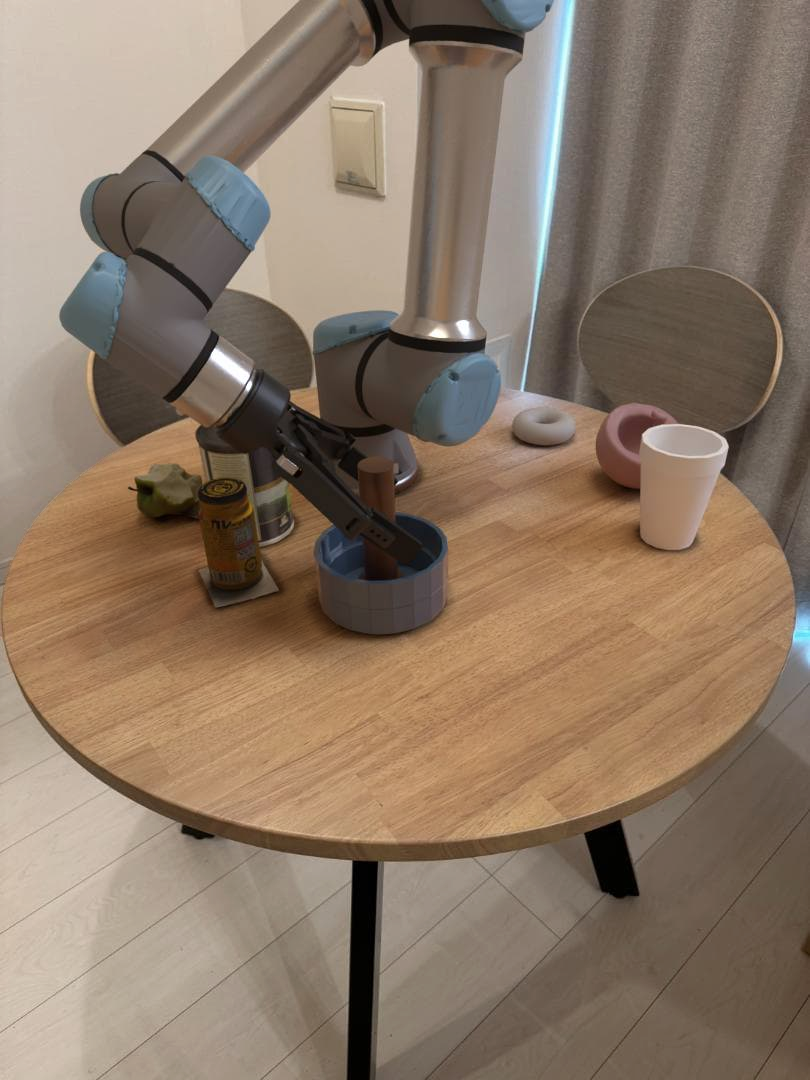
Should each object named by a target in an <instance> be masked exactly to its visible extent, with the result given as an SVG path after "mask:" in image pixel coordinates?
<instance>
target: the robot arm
mask: <svg viewBox="0 0 810 1080" xmlns="http://www.w3.org/2000/svg"><path fill="white" fill-rule="evenodd" d="M554 1H555V0H298V1H297V2H296V3H295V4H294V5H293V6H292V7H291V8H290V9H289V10H288V11H287V12H286V13H285V14H283V16H282V17H281V18H280V19H279V20H277V22H276V23H275V24H273V25H272V27H270V28H269V29H268V30H267V31H266V33H264V34H263V35H262V36H261V37H260V38H259V39H258V40H257V41H256V42H255V43H254V44H253V45H252V46H251V47H250V48H249V49H248V50H247V51H246V52H245V53H244V54H242V56H241V57H240V58H239V59H238V60H237V61H236V62H235V63H233V64H232V66H230V67H229V68H228V69H227V70H226V71H225V72H224V73H223V74H222V75H221V76H220V77H219V78H218V79H217V80H216V81H215V82H214V83H213V84H212V85H211V86H210V87H209V88H208V89H207V90H206V91H205V92H204V93H203V94H201V96H199V98H197V100H196V101H194V102H193V104H192V105H191V106H189V107H188V108H187V109H186V110H185V111H184V112H183V113H182V114H181V115H180V116H179V117H178V118H177V119H176V120H175V121H174V122H173V123H172V124H171V125H170V126H169V127H168V128H167V129H166V130H165V131H164V132H163V133H162V134H161V135H160V136H159V137H158V138H156V139H155V140H154V142H152V143H151V145H150V146H148V147H147V148H146V149H145V150H144V151H143V152H141V154H139V155H138V156H137V157H136V158H135V159H134V160H133V161H132V162H131V163H129V165H127V167H126V168H124V169H123V171H121V172H120V173H119V172H114V173H108V174H107V175H102V176H99V177H97V178H95V179H94V180H92V181H91V182H90V183H89V184H88V185H87V186H86V187H85V188H84V190H83V193H82V196H81V199H80V204H79V215H80V220H81V223H82V227H83V229H84V230H85V233H86V234H87V235H88V237H89V239H90V241H92V242H93V244H94V245H96V246H97V247H99V248H100V249H102V250H103V251H102V252H100V253H99V254H98V255H97V256H96V258H95V259H94V261H93V262H92V263H91V265H90V266H89V268H87V270H86V271H85V273H84V275H83V276H82V277H81V278H80V280H79V281H78V283H77V284H76V286H75V287H74V289H73V290H72V291H71V293H70V294H69V295H68V297H67V298H66V300H65V301H64V303H63V304H62V306H61V308H60V310H59V318H58V319H59V321H60V324H61V327H62V328H63V329H64V330H65V332H67V333H68V334H69V335H71V336H72V337H73V338H74V339H76V340H77V341H78V342H80V343H82V344H83V345H84V346H85V347H87V348H88V349H89V350H91V351H92V352H93V353H95V354H96V355H98V356H99V358H100V359H102V360H103V361H106V362H107V363H108V364H110V365H111V366H113V367H114V368H116V369H117V370H119V371H120V372H122V373H123V374H125V375H126V376H127V377H129V378H131V379H132V380H134V381H135V382H137V383H138V384H140V385H141V386H142V387H144V388H146V389H147V390H149V391H150V392H152V393H153V394H155V395H156V396H158V397H159V398H161V399H162V400H164V401H165V402H167V403H169V404H170V405H171V406H173V407H174V408H175V412H176V415H177V416H178V417H185V416H188V417H189V418H190V419H191V420H193V421H195V422H196V423H197V424H199V425H202V426H204V427H205V428H208V427H212V426H213V430H214V434H215V435H216V436H217V437H218V438H220V439H221V440H223V441H224V442H226V443H227V444H229V445H230V446H232V447H233V448H235V449H236V450H237V451H239V452H240V453H243V454H248V453H251V452H253V451H255V449H257V448H260V447H265V448H267V450H268V451H269V452H271V453H272V456H273V458H274V459H275V461H274V463H273V464H272V465H271V469H272V470H273V471H274V472H275V473H276V474H278V475H279V476H280V477H282V478H283V479H284V480H286V481H287V482H288V484H290V485H291V486H292V487H293V488H294V489H295V490H296V491H297V492H298V493H299V494H300V495H302V496H303V498H304V499H306V500H307V501H308V502H309V503H310V505H312V506H313V507H314V508H315V509H316V510H317V511H319V512H320V514H322V515H323V516H324V517H325V518H326V519H327V520H328V521H329V522H330V523H331V524H332V525H333V524H334V525H335V526H336V527H337V528H338V529H339V530H340V531H341V532H342V533H343V534H344V536H345V537H346V538H347V539H349V540H352V541H353V540H354V539H355V538H356V537H357V536H358V535H359V534H360V535H361V536H363V537H364V538H366V539H367V540H369V541H370V542H371V543H373V544H374V545H376V546H377V547H379V548H380V549H382V550H383V551H385V552H386V553H387V554H389V555H390V556H392V557H393V558H395V559H396V560H398V561H399V562H401V563H402V564H404V565H406V564H407V563H408V562H409V561H410V560H411V559H412V558H413V557H414V556H415V555H416V554H417V553H418V552H419V551H420V550H421V549H422V548H423V547H424V546H423V544H422V542H421V541H419V540H418V539H417V538H415V537H414V536H412V535H411V534H410V533H408V532H407V531H405V530H404V529H403V528H401V527H400V526H398V525H397V524H396V523H394V522H393V521H391V520H390V519H389V518H387V517H386V516H385V515H383V514H382V513H380V512H379V511H378V510H376V509H375V508H372V509H371V510H370V509H369V508H368V507H367V506H366V505H365V504H364V503H363V502H362V501H361V500H360V496H359V482H358V467H357V465H358V463H359V462H360V461H361V460H363V459H365V458H369V457H385V458H388V459H390V460H391V461H392V462H393V464H394V490H395V494H398V493H401V492H402V491H404V490H407V488H409V487H411V485H412V484H414V483H415V481H416V480H417V478H418V473H419V471H418V459H417V456H416V453H415V451H414V447H413V445H412V443H411V440H410V437H409V435H410V436H412V437H415V438H416V439H418V440H419V441H421V442H424V443H432V444H435V445H437V446H441V447H447V448H448V447H456V446H460V445H462V444H465V443H466V442H468V441H470V440H472V438H474V437H475V436H476V435H477V434H478V433H479V432H480V431H481V429H482V428H483V427H484V426H485V425H486V424H487V423H488V421H489V420H490V418H491V417H492V414H494V413H493V412H495V408H496V406H497V404H498V401H499V398H500V393H501V388H502V375H501V371H500V370H499V369H498V364H497V362H496V361H495V360H494V359H493V358H491V357H490V356H489V354H485V351H486V344H487V337H488V332H487V330H486V328H485V327H484V326H483V325H482V324H481V323H480V321H479V320H478V317H477V311H478V304H479V297H480V296H479V295H480V287H481V280H482V272H483V263H484V253H485V246H486V239H487V238H486V237H487V229H488V219H489V212H490V211H489V210H490V205H491V195H492V186H493V178H494V170H495V163H496V154H497V145H498V139H499V138H498V137H499V131H500V130H499V129H500V123H501V122H500V121H501V112H502V105H503V104H502V103H503V96H504V89H505V80H506V78H507V77H508V74H509V73H510V72H512V71H513V70H514V69H515V68H516V67H517V66H518V65H519V64H520V63H521V62H522V60H523V57H524V56H523V55H524V47H525V40H526V34H527V33H529V32H532V31H533V30H534V29H535V28H537V27H538V26H540V25H541V24H542V23H543V22H544V20H545V19H546V18H547V16H546V15H547V13H549V12H550V11H551V8H552V6H553V3H554ZM407 40H408V52H409V53H410V55H411V56H412V58H413V59H414V60H415V62H416V64H417V65H418V67H419V69H420V71H421V77H420V89H419V101H418V102H419V103H418V113H417V127H416V141H415V152H414V153H415V155H414V167H413V179H412V182H413V183H412V190H411V191H412V192H411V193H412V194H411V206H410V218H409V232H408V234H409V235H408V242H407V243H408V245H407V257H406V259H407V260H406V267H405V269H406V270H405V282H404V294H403V295H404V296H403V309H402V310H401V312H400V313H397V312H395V311H392V310H382V309H381V310H378V309H377V310H362V311H356V312H355V311H354V312H349V313H343V314H338V315H334V316H332V317H328V318H326V319H324V320H321V321H320V322H319V323H317V325H316V326H315V327H314V329H313V332H312V356H313V362H314V371H315V380H316V381H315V382H316V390H317V400H318V409H319V417H318V416H316V415H315V414H313V413H311V412H310V411H308V410H306V409H304V408H302V407H300V406H298V405H297V404H295V403H294V402H292V401H291V391H290V389H289V387H287V385H285V384H284V383H282V382H281V381H280V380H278V379H277V378H276V377H274V376H273V375H272V374H270V373H269V372H268V371H267V370H265V369H264V368H255V362H254V360H253V359H252V358H250V357H249V356H248V355H247V354H245V353H244V352H242V351H241V350H240V349H238V348H237V347H236V346H234V344H231V343H230V342H229V341H228V340H227V339H225V338H224V337H222V336H221V335H220V334H219V333H217V332H216V331H214V330H213V329H212V328H211V327H209V326H208V325H207V324H206V323H205V322H204V319H205V317H206V316H207V315H208V313H210V311H211V309H212V308H213V306H214V304H215V303H216V301H217V300H218V298H219V297H220V295H222V293H223V292H224V290H225V289H226V287H227V286H228V285H229V283H230V282H231V281H232V279H233V278H234V276H236V274H237V273H238V271H239V270H240V269H241V267H242V265H243V264H244V263H245V261H246V260H247V259H248V257H249V256H250V254H251V253H252V252H254V251H255V250H256V244H257V243H258V241H259V239H260V238H261V236H262V234H263V232H264V231H265V229H266V227H267V226H268V224H269V222H270V220H271V213H272V212H271V207H270V204H269V202H268V200H267V197H266V196H265V195H264V193H263V191H262V190H261V189H260V188H259V187H258V185H257V184H256V183H255V182H254V181H253V180H252V179H251V178H250V177H249V176H248V175H247V174H246V172H247V170H249V168H250V167H251V166H253V164H255V162H257V160H258V159H259V158H260V157H261V156H263V154H264V153H266V151H267V150H268V149H269V148H270V147H271V146H272V145H273V144H274V143H275V142H276V141H278V139H280V137H281V136H282V135H283V134H284V133H285V132H286V131H287V130H288V129H289V128H290V127H291V126H292V125H293V124H294V123H295V122H296V121H297V120H298V119H299V118H300V117H301V116H302V115H303V114H304V113H305V112H306V111H307V110H308V109H309V108H310V107H311V106H312V105H313V104H314V103H315V102H316V101H317V100H318V99H319V98H320V97H321V96H322V95H323V94H324V93H325V92H326V90H328V88H329V87H331V86H332V84H334V83H335V82H336V81H337V79H339V78H340V77H341V76H342V75H343V73H345V71H346V70H347V69H348V68H349V67H355V68H357V67H363V66H365V65H367V64H368V63H369V62H370V61H371V60H372V59H373V58H374V57H375V56H376V55H377V54H379V52H380V51H382V50H383V49H386V48H387V47H390V46H392V45H394V44H398V43H401V42H403V41H407Z"/></svg>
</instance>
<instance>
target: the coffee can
mask: <svg viewBox="0 0 810 1080" xmlns="http://www.w3.org/2000/svg"><path fill="white" fill-rule="evenodd" d="M194 434H195V436H194V437H195V440H196V442H197V443H198V449H199V455H200V459H201V464H202V469H203V470H202V471H203V474H204V481H205V483H206V482H208V481H210V480H213V479H217V478H226V477H231V478H236V479H239V480H241V481H243V482H244V483H245V485H246V487H247V494H248V497H249V502H250V503H251V504H252V506H253V508H254V515H255V522H256V530H257V536H258V542H259V547H260V548H262V547H267V546H271V545H273V544H276V543H278V542H280V541H281V540H283V539H285V538H286V537H287V536H289V535H290V534H291V532H292V531H293V529H294V527H295V520H294V515H293V509H292V507H293V506H292V500H291V492H290V486H289V484H290V483H289V482H287V481H286V480H284V479H283V478H282V477H280V476H279V475H278V474H276V473H275V472H274V471H273V470H272V469H271V465H272V464H273V463H274V461H275V459H274V458H273V456H272V453H271V452H269V451H268V450H267V448H265V447H260V448H257V449H255V451H253V452H251V453H248V454H243V453H240V452H239V451H237V450H236V449H235V448H233V447H232V446H230V445H229V444H227V443H226V442H224V441H223V440H221V439H220V438H218V437H217V436H216V435H215V434H214V430H213V426H212V427H208V428H205V427H204V426H202V425H201V424H199V426H198V427H197V428H196V429H195V432H194Z"/></svg>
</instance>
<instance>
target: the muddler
mask: <svg viewBox="0 0 810 1080" xmlns="http://www.w3.org/2000/svg"><path fill="white" fill-rule="evenodd" d="M357 467H358V482H359V496H360V500H361V501H362V502H363V503H364V504H365V505H366V506H367V507H368V508H369V509H370V510H371V509H372V508H375V509H376V510H378V511H379V512H380V513H382V514H383V515H385V516H386V517H387V518H389V519H390V520H391V521H393V522H394V523H396V516H395V512H396V498H395V497H396V496H395V495H396V493H395V490H394V464H393V462H392V461H391V460H390V459H388V458H385V457H369V458H365V459H363V460H361V461H360V462H359V463H358V465H357ZM362 541H363V556H364V570H365V571H364V572H362V573H361V574H360V576H359V578H358V579H361V580H368V581H382V580H394V579H399V578H403V577H405V576H404V574H403V573H402V572H401V571H400V570H398V568H397V560H396V559H395V558H393V557H392V556H390V555H389V554H387V553H386V552H385V551H383V550H382V549H380V548H379V547H377V546H376V545H374V544H373V543H371V542H370V541H369V540H367V539H366V538H364V537H363V536H362Z"/></svg>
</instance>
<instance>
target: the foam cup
mask: <svg viewBox="0 0 810 1080" xmlns="http://www.w3.org/2000/svg"><path fill="white" fill-rule="evenodd" d="M729 448H730V447H729V443H728V441H727V438H725V437H724V436H722V435H721V434H720V433H717V432H716V431H713V430H711V429H708V428H706V427H705V428H704V427H701V426H698V425H690V424H682V423H678V424H666V425H659V426H656V427H652V428H649V429H648V430H646V431H645V432H644V433H643V434H642V438H641V444H640V451H639V454H640V460H641V485H640V489H639V490H640V491H639V492H640V495H639V498H640V499H639V534H640V538H641V539H642V541H644V543H646V544H647V545H649V546H652V547H654V548H655V549H661V550H666V551H681V550H684V549H686V548H688V547H690V546H691V545H692V544H693V543H694V539H695V538H696V536H697V533H698V530H699V527H700V525H701V523H702V520H703V518H704V515H705V512H706V509H707V508H708V504H709V501H710V499H711V496H712V494H713V491H714V489H715V487H716V483H717V481H718V478H719V475H720V474H721V471H722V469H723V468H724V467H725V465H726V460H727V456H728V451H729Z"/></svg>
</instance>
